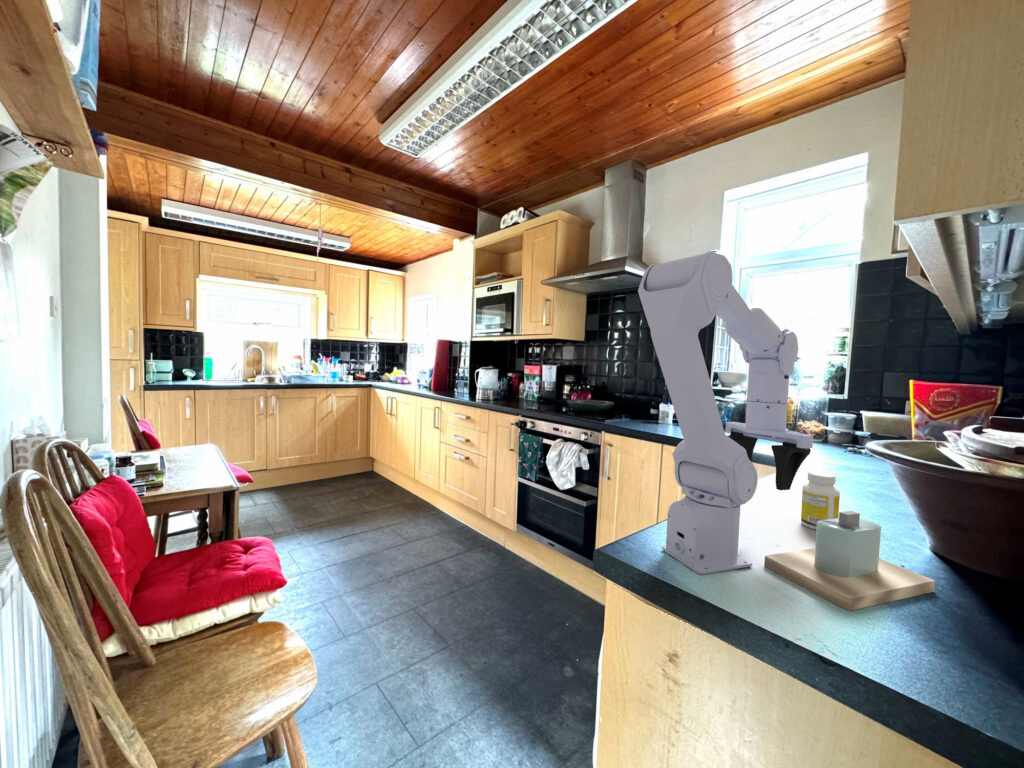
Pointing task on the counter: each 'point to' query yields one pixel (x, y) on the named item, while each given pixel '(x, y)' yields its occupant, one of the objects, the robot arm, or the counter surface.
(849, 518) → the grey capsule with tab
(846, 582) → the cutting board
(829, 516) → the supplement bottle
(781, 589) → the counter surface
